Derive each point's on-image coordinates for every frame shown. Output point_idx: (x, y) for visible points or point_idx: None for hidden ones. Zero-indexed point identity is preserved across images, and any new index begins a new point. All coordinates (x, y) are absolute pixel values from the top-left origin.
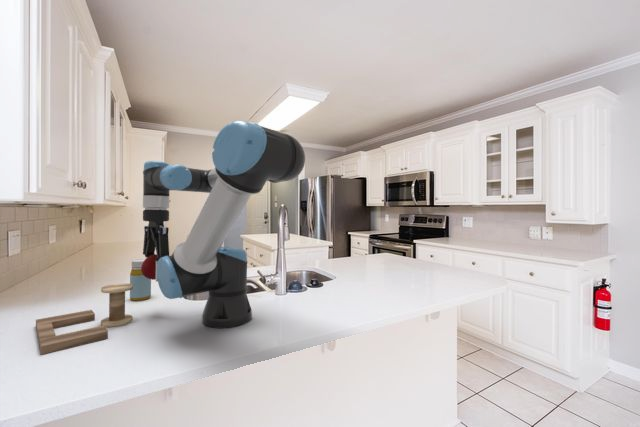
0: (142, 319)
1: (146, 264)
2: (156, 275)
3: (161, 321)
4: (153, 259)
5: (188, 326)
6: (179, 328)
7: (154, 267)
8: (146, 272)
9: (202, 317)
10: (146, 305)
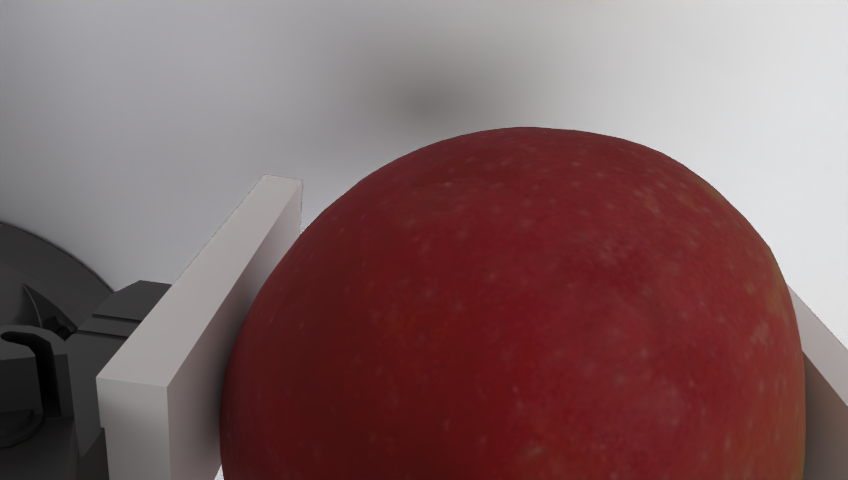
0: (478, 6)
1: (433, 213)
2: (237, 212)
3: (298, 79)
4: (316, 410)
5: (38, 141)
6: (42, 79)
7: (268, 278)
8: (431, 145)
9: (8, 251)
10: (819, 220)
